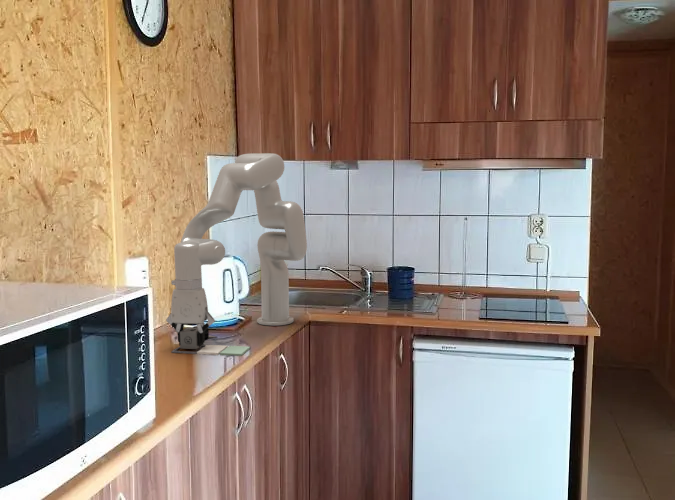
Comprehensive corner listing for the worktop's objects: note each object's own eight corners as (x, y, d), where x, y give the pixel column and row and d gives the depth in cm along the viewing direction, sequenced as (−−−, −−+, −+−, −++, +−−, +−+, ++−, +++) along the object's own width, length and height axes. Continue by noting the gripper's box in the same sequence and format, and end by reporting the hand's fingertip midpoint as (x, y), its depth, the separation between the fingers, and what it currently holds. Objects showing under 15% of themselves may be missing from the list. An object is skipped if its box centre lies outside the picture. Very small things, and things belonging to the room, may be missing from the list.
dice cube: (196, 349, 203) (195, 332, 203) (180, 348, 204) (179, 331, 204) (203, 344, 208) (202, 328, 207) (187, 343, 209) (186, 327, 208)
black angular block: (193, 346, 212) (193, 331, 211) (177, 342, 216) (177, 328, 216) (222, 338, 222) (222, 324, 221) (207, 334, 226) (206, 321, 225)
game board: (182, 345, 210) (182, 343, 210) (250, 348, 206) (250, 346, 206) (171, 352, 202) (171, 350, 202) (241, 356, 198) (241, 353, 198)
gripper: (156, 286, 201) (159, 347, 204) (212, 287, 198) (214, 349, 201) (167, 281, 209) (169, 340, 211) (221, 282, 205) (223, 342, 208)
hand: (191, 344), depth 206 cm, fingers closed on dice cube, 5 cm apart
